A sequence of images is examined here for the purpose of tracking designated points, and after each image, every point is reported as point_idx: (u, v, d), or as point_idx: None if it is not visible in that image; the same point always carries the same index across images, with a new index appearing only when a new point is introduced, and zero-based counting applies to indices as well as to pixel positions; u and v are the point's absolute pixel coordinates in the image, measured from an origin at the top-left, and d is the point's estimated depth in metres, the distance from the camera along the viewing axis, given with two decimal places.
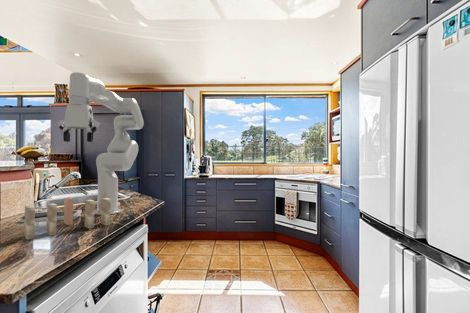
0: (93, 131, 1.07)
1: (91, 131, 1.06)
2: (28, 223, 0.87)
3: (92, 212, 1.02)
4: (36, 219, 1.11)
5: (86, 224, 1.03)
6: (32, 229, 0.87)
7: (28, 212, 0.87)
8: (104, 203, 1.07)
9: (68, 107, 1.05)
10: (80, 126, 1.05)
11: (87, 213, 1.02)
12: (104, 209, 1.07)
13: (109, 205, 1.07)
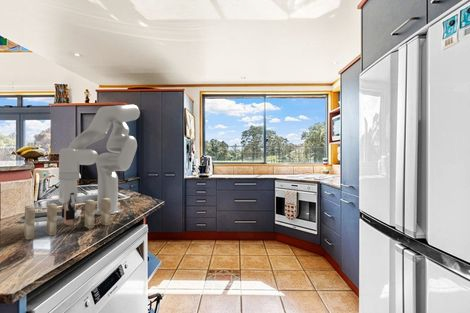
0: None
1: None
2: (28, 223, 0.87)
3: (92, 212, 1.02)
4: (36, 219, 1.11)
5: (86, 224, 1.03)
6: (32, 229, 0.87)
7: (28, 212, 0.87)
8: (104, 203, 1.07)
9: None
10: None
11: (87, 213, 1.02)
12: (104, 209, 1.07)
13: (109, 205, 1.07)
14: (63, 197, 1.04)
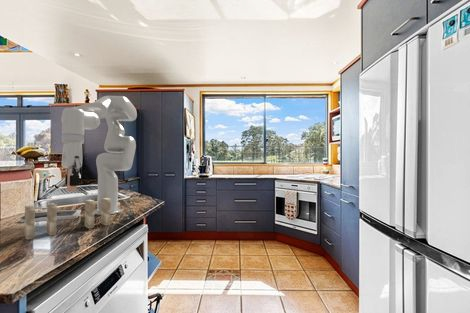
0: None
1: None
2: (28, 223, 0.87)
3: (92, 212, 1.02)
4: (36, 219, 1.11)
5: (86, 224, 1.03)
6: (32, 229, 0.87)
7: (28, 212, 0.87)
8: (104, 203, 1.07)
9: None
10: None
11: (87, 213, 1.02)
12: (104, 209, 1.07)
13: (109, 205, 1.07)
14: (67, 160, 0.95)
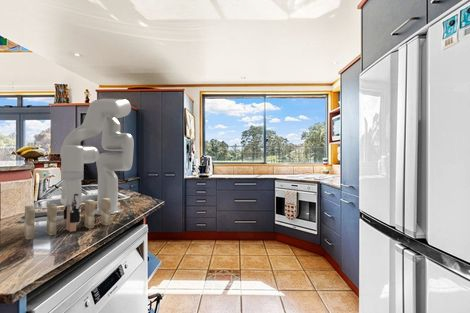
0: None
1: None
2: (28, 223, 0.87)
3: (92, 212, 1.02)
4: (36, 219, 1.11)
5: (86, 224, 1.03)
6: (32, 229, 0.87)
7: (28, 212, 0.87)
8: (104, 203, 1.07)
9: None
10: None
11: (87, 213, 1.02)
12: (104, 209, 1.07)
13: (109, 205, 1.07)
14: (66, 199, 0.94)
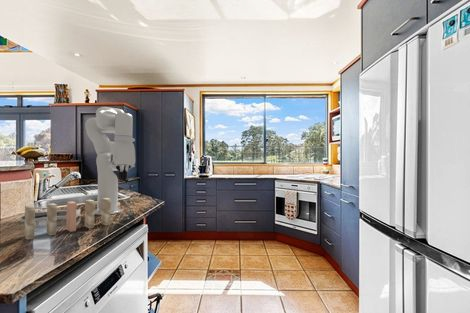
0: (127, 170, 1.15)
1: None
2: (28, 223, 0.87)
3: (92, 212, 1.02)
4: (36, 219, 1.11)
5: (86, 224, 1.03)
6: (32, 229, 0.87)
7: (28, 212, 0.87)
8: (104, 203, 1.07)
9: (118, 145, 1.10)
10: (128, 163, 1.14)
11: (87, 213, 1.02)
12: (104, 209, 1.07)
13: (109, 205, 1.07)
14: None
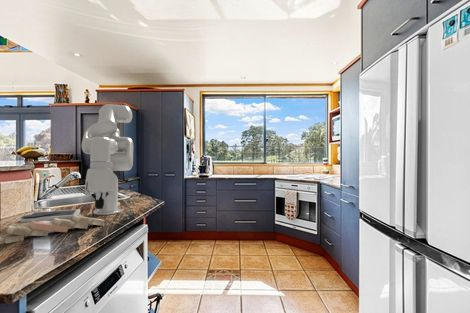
0: (104, 197, 1.08)
1: (104, 199, 1.06)
2: (1, 243, 0.81)
3: (71, 223, 0.96)
4: (36, 219, 1.11)
5: None
6: (11, 238, 0.83)
7: None
8: None
9: (94, 172, 1.03)
10: (106, 190, 1.06)
11: None
12: None
13: (84, 219, 0.99)
14: None
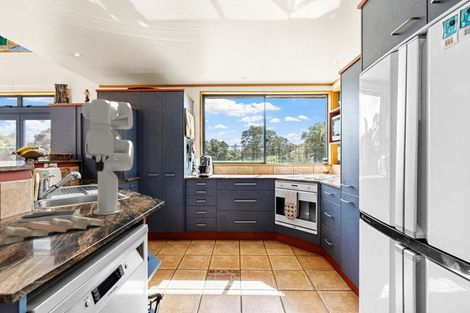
0: (104, 160, 1.08)
1: (104, 162, 1.06)
2: (1, 244, 0.81)
3: (69, 223, 0.96)
4: (37, 218, 1.12)
5: None
6: (11, 239, 0.82)
7: None
8: None
9: (94, 134, 1.03)
10: (106, 153, 1.06)
11: None
12: None
13: (83, 219, 0.99)
14: None
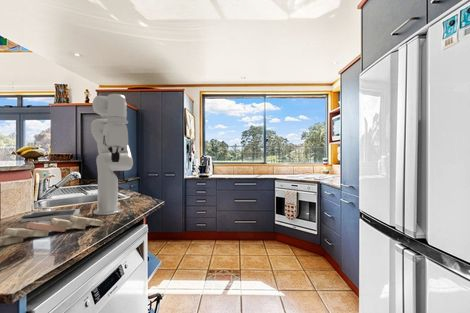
0: None
1: (119, 153, 1.13)
2: (1, 245, 0.80)
3: (68, 223, 0.95)
4: (37, 218, 1.12)
5: None
6: (10, 240, 0.82)
7: None
8: None
9: (110, 126, 1.09)
10: (121, 145, 1.13)
11: None
12: None
13: (82, 219, 0.99)
14: None
